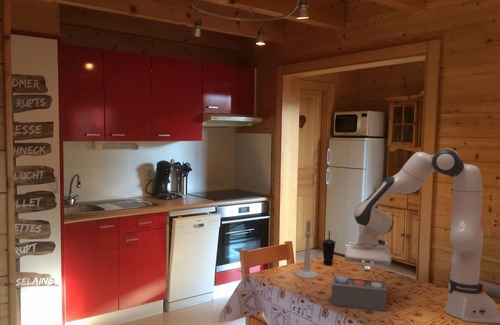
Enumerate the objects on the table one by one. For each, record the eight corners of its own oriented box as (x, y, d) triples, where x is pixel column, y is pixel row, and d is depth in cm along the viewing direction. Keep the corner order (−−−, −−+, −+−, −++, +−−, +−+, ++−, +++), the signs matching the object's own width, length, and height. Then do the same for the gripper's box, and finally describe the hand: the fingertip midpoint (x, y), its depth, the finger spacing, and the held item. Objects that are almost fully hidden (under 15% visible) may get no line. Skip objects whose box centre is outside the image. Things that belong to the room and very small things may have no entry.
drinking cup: (330, 262, 256) (331, 229, 255) (337, 266, 249) (338, 231, 248) (319, 263, 254) (320, 229, 253) (325, 267, 247) (327, 232, 246)
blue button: (347, 283, 195) (347, 276, 195) (347, 287, 191) (347, 279, 191) (336, 282, 197) (336, 275, 196) (336, 285, 192) (336, 278, 192)
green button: (381, 290, 192) (381, 282, 192) (382, 293, 187) (382, 285, 187) (370, 288, 193) (370, 281, 193) (370, 292, 188) (371, 284, 188)
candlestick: (293, 271, 237) (295, 217, 236) (317, 272, 237) (319, 218, 235) (295, 278, 224) (297, 221, 223) (320, 279, 224) (322, 222, 222)
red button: (364, 288, 194) (364, 280, 194) (364, 291, 189) (364, 283, 189) (353, 287, 195) (353, 279, 195) (353, 290, 190) (353, 282, 190)
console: (384, 301, 195) (384, 281, 195) (385, 311, 184) (386, 290, 183) (332, 295, 201) (333, 276, 200) (331, 304, 189) (332, 284, 189)
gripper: (345, 238, 200) (343, 264, 191) (391, 242, 195) (391, 270, 186) (345, 245, 205) (343, 271, 196) (390, 249, 200) (390, 276, 191)
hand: (367, 270), depth 191 cm, fingers closed
